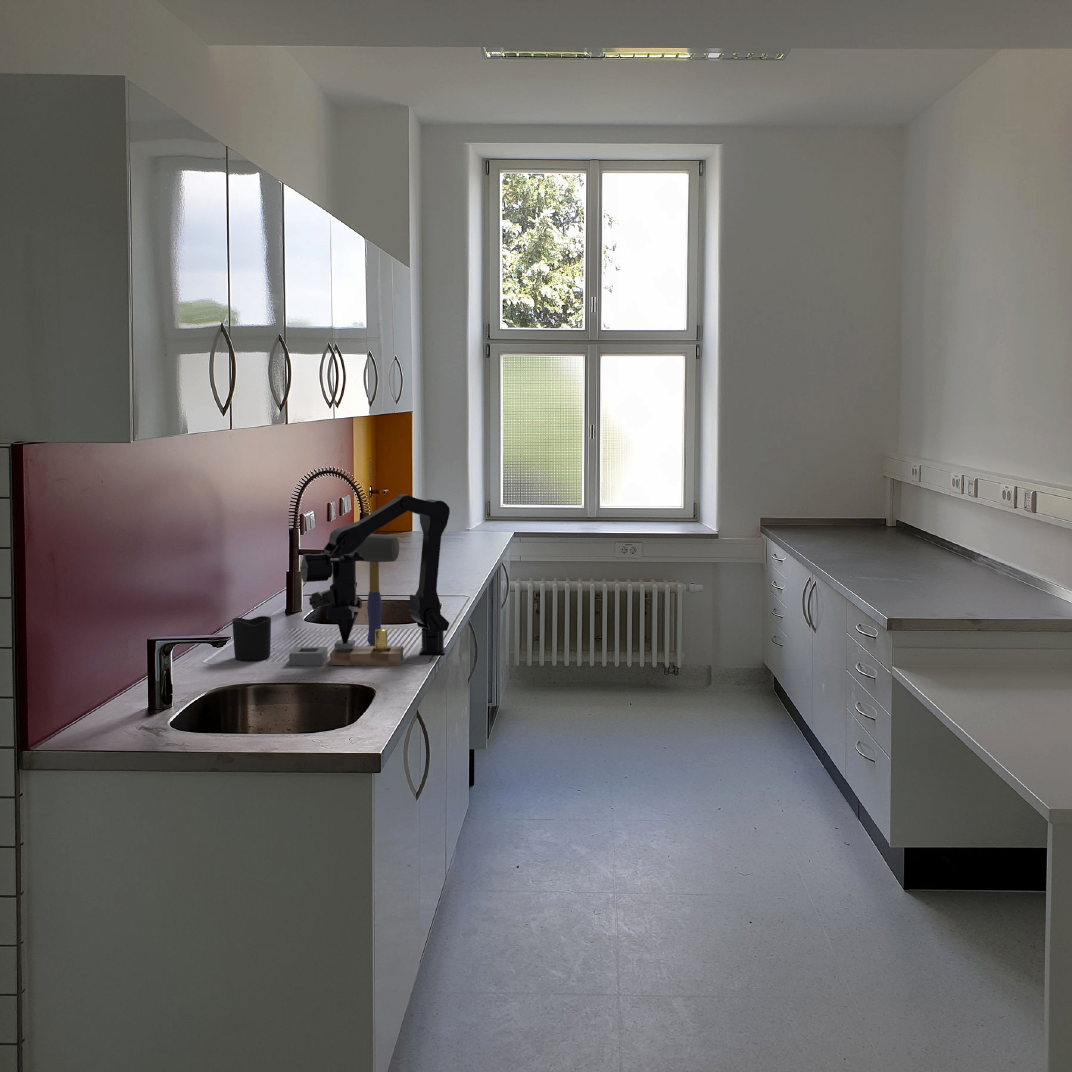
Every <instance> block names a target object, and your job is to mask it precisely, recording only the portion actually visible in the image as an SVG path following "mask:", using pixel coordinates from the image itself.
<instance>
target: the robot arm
mask: <svg viewBox="0 0 1072 1072" xmlns="http://www.w3.org/2000/svg"><path fill="white" fill-rule="evenodd" d="M406 512H410V513H412V514H415V515H419V524H420V528H421V531H422V543H421V544H422V547H421V557H420V558H421V559H420V568H419V578H418V588H417V590H416V592H415V594H410V595H409V606H408V607H407V608H408V609H407V610H408V611H410V617H411V618H412V619H413V621H415V622H416V625H417V627H418V628H421V647H420V650H419V652H418V654H419V655H445V654H446V651H447V648H446V647H445V645H444V644H445V643H444V642H445V640H444V638H445V633H444V632H447V631H448V630H449V626H450V622H449V620H447V619H446V618H445V617H444V616H443V615H442V614H441V603H440V598H439V593H438V591H437V588H438V577H439V576H438V575H439V565H440V553H441V543H442V535H443V533H444V532H445V530H446V527H447V525H448V521H449V519H450V518H449V517H450V513H451V510H450V506H449V505H448V504H447V503H446V502H445V501H443V500H439V499H432V498H431V499H426V500H424V499H420V498H417V497H414V496H411V495H409V494H398V495H397V496H396V497H395V498H393V500H391V501H389V502H387V503H385V505H382V506H381V507H379V508H377V509H376V510H375V511H373V512H371V513H370V514H367V515H366V516H365V517H363V518H361V519H360V520H358V521H355V522H351V523H347V524H345V525H343V526H341V527H338V528H335V529H334V530H332V531H331V532H330V533H329V538H328V542H327V544H326V545H325V546H324V548H322V550H321V552H320V553H315V554H312V553H303V556H302V561H301V563H300V564H301V565H300V566H299V572H300V573H299V574H300V577H301V580H302V582H303V583H311V582H313V583H314V582H326V581H328V580H329V579H330V578H332V583H331V584H330V586H329V589H328V590H323V591H322V592H321V591H319V590H318V591H316V592H313V593H311V596H310V597H308V600H309V602H308V604H309V605H310V606H311V608H312V610H313V611H315V610H318V609H319V608H321V607H324V606H327V605H329V606H330V607H329V608H328V609H327V610H326V613H325V616H326V617H325V618H326V620H334V621H335V622H336V623H337V625H338V630H339V633H340V637H341V640H342V641H343V642H347V641H348V640H350V637H351V636H350V635H351V633H352V631H353V627H354V626H355V622H356V620H357V618H358V615H359V611H355V607H356V608H358V609H361V608H362V607H363V605H362V603H363V599H362V598H361V597H359V596H358V595H357V587H358V582H357V577H356V576H357V570H356V569H357V567H356V566H357V565H356V564H357V563H356V562H364V561H363V560H364V558H363V557H362V556H360V555H359V553H358V552H357V551H355V550H356V549H357V548H358V547H359V546H360V545H361V544H362V543H363V542H364V541H365V540H366V538H367V537H368V536H369V535H370V534H374V533H375V532H377V531H378V530H380V529H381V528H383V527H384V526H386V525H388V524H389V523H391V522H392V521H394V520H395V519H397V518H398V517H401V516H402V515H403V514H405V513H406ZM351 552H353V553H352V554H349V553H351Z"/></svg>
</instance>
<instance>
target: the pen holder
mask: <svg viewBox="0 0 1072 1072" xmlns="http://www.w3.org/2000/svg"><path fill="white" fill-rule="evenodd" d="M231 621H232V633H233V634H232V635H233V649H234V658H235V660H237V661H239V660H244V661H243V662H257V661H258V660H259V661H265V660H268V659H269V658H270V657H271V645H272V644H271V642H272V639H271V638H272V634H271V633H272V618H271V616H265V615H259V616H257V617H254V618H249V619H247V618H242V617H234V618H232V619H231ZM267 658H268V659H267ZM264 659H265V660H264ZM256 660H257V661H256Z"/></svg>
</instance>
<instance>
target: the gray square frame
mask: <svg viewBox="0 0 1072 1072" xmlns="http://www.w3.org/2000/svg"><path fill="white" fill-rule="evenodd" d="M328 651H329V650H328V646H295V647H294V648H293V649H292V650H291V651H290V652H289V653H288V660H289V661H288V662H289V663H288V664H289V665H303V666H323V665H324V664H325V663H326V661H328V659H329V658H328V655H329V654H328ZM324 662H325V663H324ZM323 663H324V664H323Z"/></svg>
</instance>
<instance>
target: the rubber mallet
mask: <svg viewBox="0 0 1072 1072" xmlns="http://www.w3.org/2000/svg"><path fill="white" fill-rule="evenodd" d="M355 551H357V552H358V553H359V555H360V556H362V557H363V558H364V560H363V561H362V562H366V563H367V562H368V563H369V591H368V595H367V616H368V635H367V637H366V638H367V640H366V641H367V642H368V644H369V646H375V630H377V629H382V622H381V621H382V612H383V611H382V610H383V609H382V607H383V606H382V596H381V592H380V567H379V566H380V563H391V562H395V561H397V559H398V557H399V553H400V542H399V539H398V537H397V536H395V535H391V534H390V535H387V534H378V533H372V534H370V535H369V536H368V537H367V538H366V540H365V541H364V542H363V543H362V544H361V545H360V546H359V547H358V548H357V549H356V550H355ZM352 553H353V552H351V553H348V554H352Z"/></svg>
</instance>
